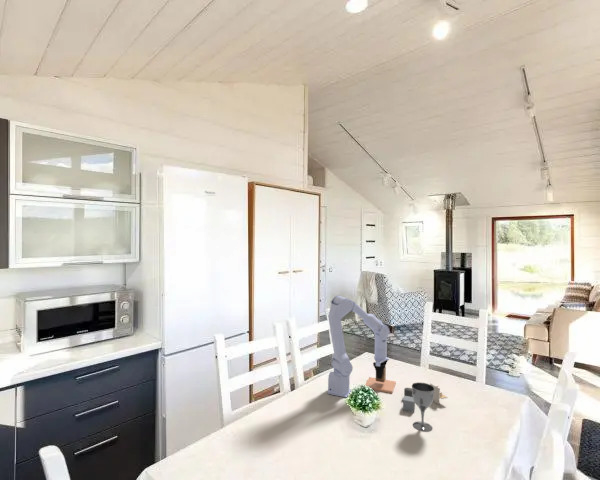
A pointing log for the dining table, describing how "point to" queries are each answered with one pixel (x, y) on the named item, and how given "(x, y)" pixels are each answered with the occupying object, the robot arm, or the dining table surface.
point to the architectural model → (437, 394)
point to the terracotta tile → (381, 385)
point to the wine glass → (422, 403)
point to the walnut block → (382, 376)
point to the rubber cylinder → (408, 392)
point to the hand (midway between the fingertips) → (380, 376)
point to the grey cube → (408, 404)
